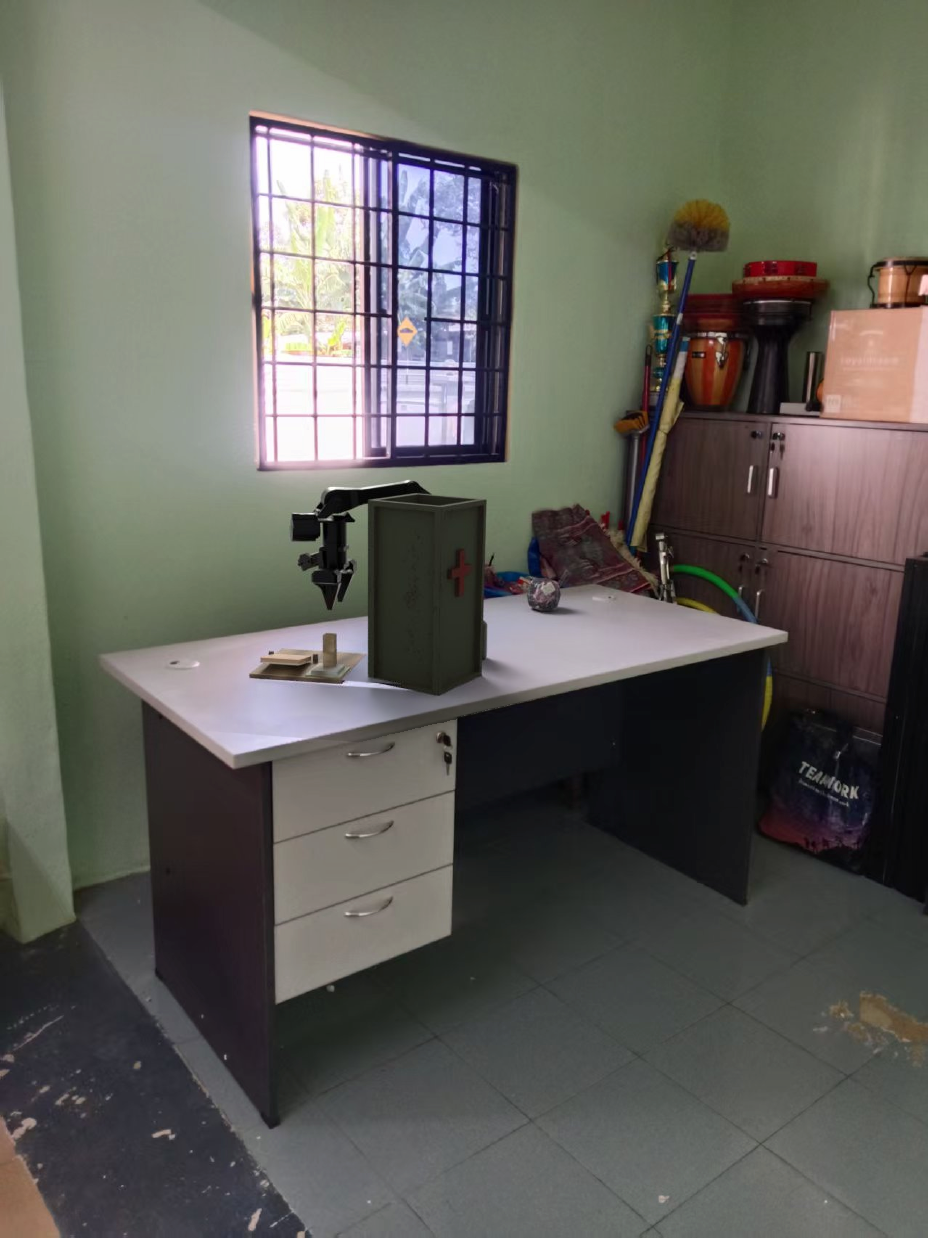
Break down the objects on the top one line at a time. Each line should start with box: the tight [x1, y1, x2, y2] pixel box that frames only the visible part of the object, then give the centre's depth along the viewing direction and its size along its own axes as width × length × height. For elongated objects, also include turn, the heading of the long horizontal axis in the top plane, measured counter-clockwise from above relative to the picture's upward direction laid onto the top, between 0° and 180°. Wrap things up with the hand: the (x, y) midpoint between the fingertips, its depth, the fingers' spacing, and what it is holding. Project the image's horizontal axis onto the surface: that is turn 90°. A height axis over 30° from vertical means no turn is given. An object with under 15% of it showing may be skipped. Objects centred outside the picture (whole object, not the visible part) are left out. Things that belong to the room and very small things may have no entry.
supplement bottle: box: [482, 614, 488, 661], centre depth 235 cm, size 7×7×12 cm
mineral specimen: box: [526, 577, 562, 612], centre depth 290 cm, size 10×10×10 cm
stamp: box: [311, 632, 345, 675], centre depth 218 cm, size 6×6×8 cm
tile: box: [259, 653, 311, 665], centre depth 222 cm, size 9×9×1 cm
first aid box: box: [367, 493, 488, 697], centre depth 215 cm, size 18×18×40 cm
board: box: [248, 648, 367, 685], centre depth 225 cm, size 21×22×3 cm
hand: (335, 605), depth 234 cm, fingers open, 9 cm apart
